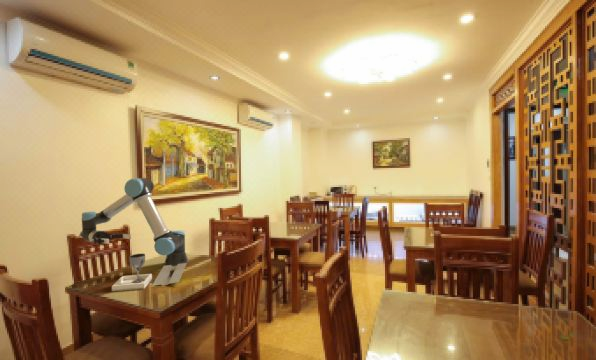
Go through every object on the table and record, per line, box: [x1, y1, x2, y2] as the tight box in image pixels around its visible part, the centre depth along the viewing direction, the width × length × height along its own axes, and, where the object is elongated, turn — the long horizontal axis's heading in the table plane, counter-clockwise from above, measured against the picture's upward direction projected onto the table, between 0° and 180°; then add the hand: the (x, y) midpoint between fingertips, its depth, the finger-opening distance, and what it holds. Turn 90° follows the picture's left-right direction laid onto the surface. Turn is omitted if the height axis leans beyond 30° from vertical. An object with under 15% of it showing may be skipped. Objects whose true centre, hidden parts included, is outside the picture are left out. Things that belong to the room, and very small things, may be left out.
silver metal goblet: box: [129, 253, 146, 283], centre depth 171 cm, size 8×8×15 cm
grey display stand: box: [151, 263, 188, 287], centre depth 174 cm, size 16×9×15 cm
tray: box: [111, 273, 153, 292], centre depth 168 cm, size 16×16×3 cm
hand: (119, 239), depth 180 cm, fingers open, 13 cm apart
